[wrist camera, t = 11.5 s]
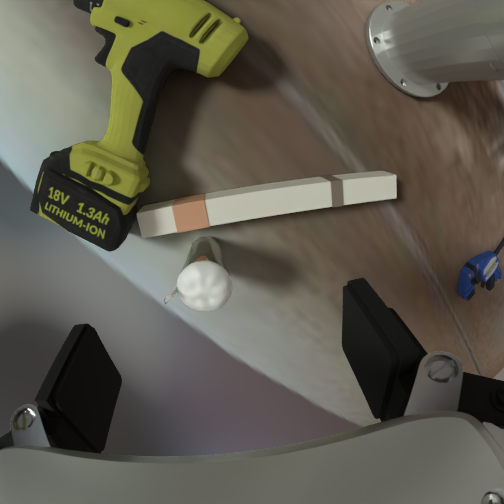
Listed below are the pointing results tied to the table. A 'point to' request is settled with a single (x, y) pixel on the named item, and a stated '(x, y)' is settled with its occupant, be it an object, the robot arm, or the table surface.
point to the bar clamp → (479, 273)
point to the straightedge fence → (264, 201)
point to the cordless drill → (130, 109)
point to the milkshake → (204, 277)
